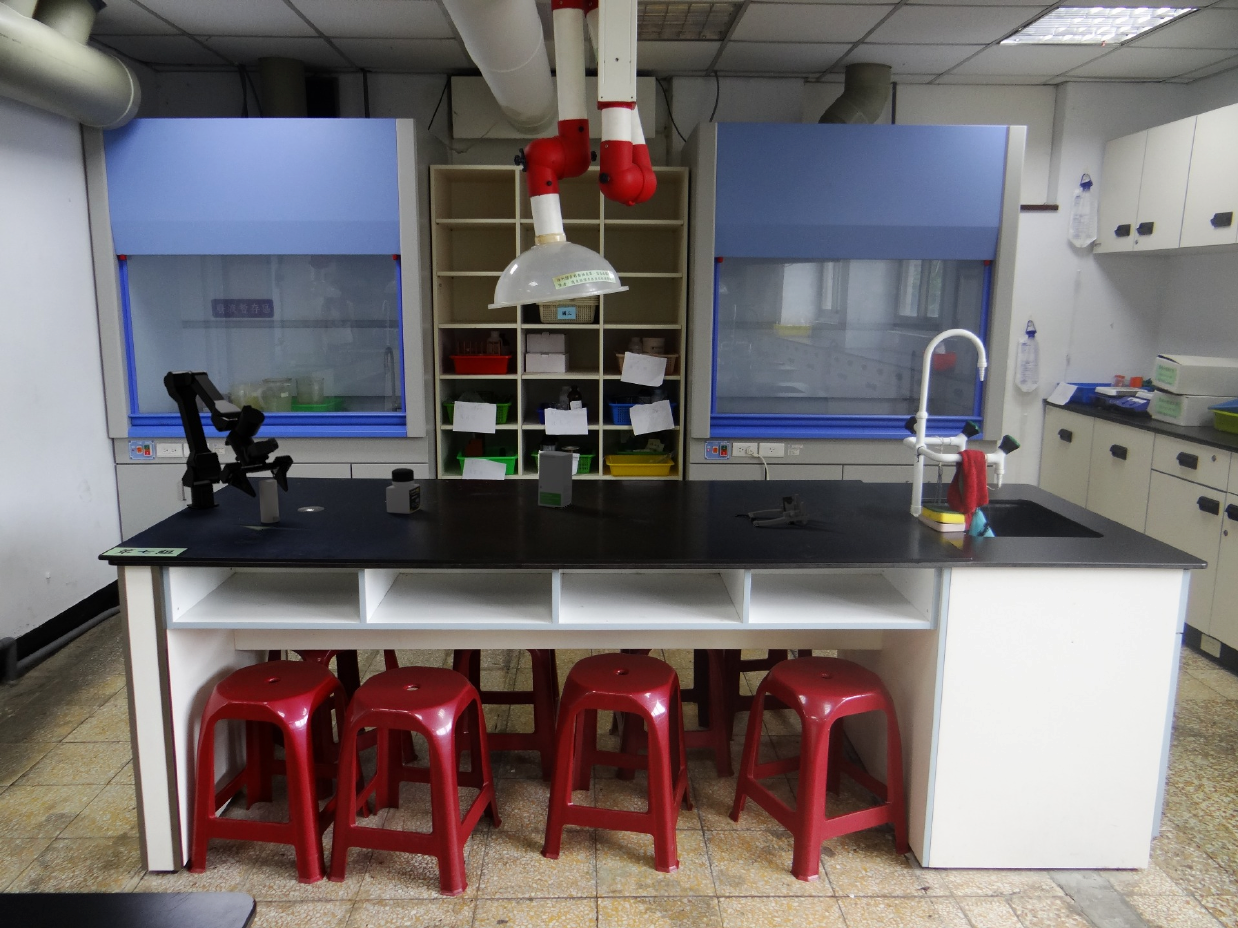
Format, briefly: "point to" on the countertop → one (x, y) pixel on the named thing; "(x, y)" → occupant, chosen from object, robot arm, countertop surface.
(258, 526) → the mat
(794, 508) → the bike brake
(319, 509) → the grey shallow disc
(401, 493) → the medicine bottle
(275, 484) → the grey rounded post
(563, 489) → the skincare box
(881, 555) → the countertop surface
